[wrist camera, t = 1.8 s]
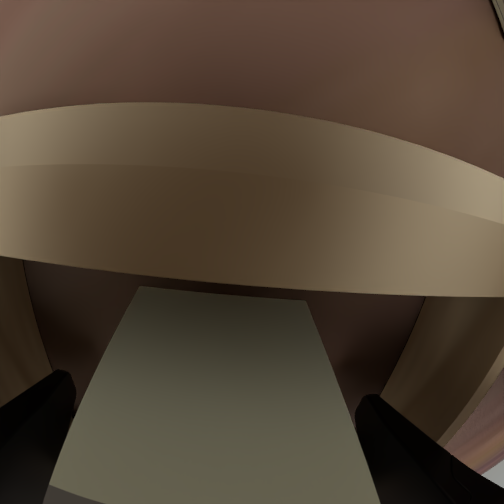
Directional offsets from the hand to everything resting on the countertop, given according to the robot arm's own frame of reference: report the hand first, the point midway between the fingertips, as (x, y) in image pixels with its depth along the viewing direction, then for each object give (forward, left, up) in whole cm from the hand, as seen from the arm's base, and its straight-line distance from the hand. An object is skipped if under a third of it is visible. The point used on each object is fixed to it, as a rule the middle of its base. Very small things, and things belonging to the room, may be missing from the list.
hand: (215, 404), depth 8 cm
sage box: (0, 0, -2) cm, 2 cm away
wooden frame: (0, 0, -2) cm, 2 cm away
